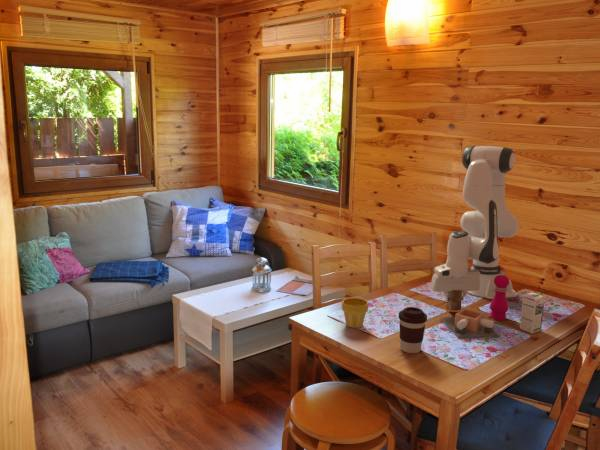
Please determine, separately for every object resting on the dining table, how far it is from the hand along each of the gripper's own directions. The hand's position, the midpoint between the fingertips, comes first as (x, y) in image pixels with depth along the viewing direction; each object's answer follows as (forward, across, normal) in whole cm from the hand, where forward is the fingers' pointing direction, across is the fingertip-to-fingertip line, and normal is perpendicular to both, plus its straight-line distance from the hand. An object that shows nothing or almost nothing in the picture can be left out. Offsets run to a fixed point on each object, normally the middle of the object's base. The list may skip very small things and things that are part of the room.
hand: (454, 300), depth 221 cm
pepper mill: (+6, -17, +6) cm, 19 cm away
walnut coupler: (+4, 0, 0) cm, 4 cm away
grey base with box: (+5, 0, +17) cm, 17 cm away
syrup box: (+6, -24, +19) cm, 31 cm away
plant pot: (+5, +45, +11) cm, 47 cm away
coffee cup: (+5, +29, +34) cm, 45 cm away
